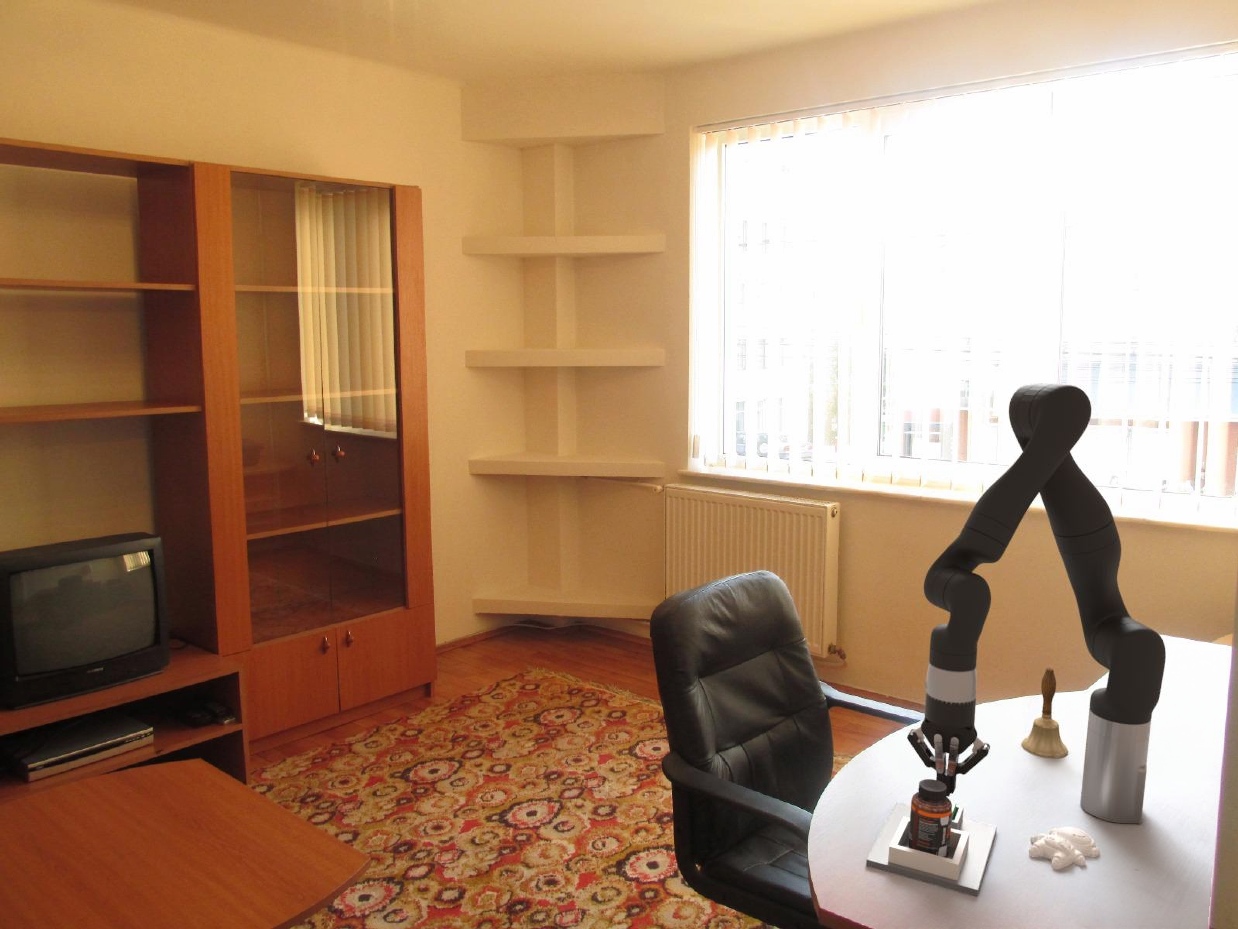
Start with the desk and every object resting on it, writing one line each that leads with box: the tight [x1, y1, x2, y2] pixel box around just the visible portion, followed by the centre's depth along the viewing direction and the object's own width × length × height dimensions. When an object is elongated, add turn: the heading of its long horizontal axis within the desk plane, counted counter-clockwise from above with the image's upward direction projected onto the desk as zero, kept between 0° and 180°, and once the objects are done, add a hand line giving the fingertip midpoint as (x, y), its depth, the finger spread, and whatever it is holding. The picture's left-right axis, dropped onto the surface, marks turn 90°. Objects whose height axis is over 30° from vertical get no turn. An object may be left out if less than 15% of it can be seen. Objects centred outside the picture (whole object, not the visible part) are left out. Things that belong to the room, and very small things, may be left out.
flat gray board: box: [865, 801, 998, 897], centre depth 153 cm, size 16×20×4 cm
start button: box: [949, 799, 957, 820], centre depth 158 cm, size 4×4×3 cm
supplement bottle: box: [909, 778, 952, 858], centre depth 149 cm, size 6×6×11 cm
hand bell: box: [1020, 667, 1069, 759], centre depth 187 cm, size 8×8×16 cm
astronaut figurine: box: [1028, 826, 1100, 870], centre depth 153 cm, size 9×12×3 cm
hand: (945, 793), depth 157 cm, fingers closed
